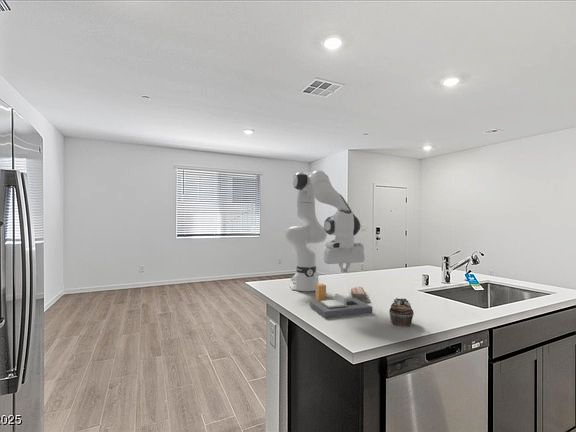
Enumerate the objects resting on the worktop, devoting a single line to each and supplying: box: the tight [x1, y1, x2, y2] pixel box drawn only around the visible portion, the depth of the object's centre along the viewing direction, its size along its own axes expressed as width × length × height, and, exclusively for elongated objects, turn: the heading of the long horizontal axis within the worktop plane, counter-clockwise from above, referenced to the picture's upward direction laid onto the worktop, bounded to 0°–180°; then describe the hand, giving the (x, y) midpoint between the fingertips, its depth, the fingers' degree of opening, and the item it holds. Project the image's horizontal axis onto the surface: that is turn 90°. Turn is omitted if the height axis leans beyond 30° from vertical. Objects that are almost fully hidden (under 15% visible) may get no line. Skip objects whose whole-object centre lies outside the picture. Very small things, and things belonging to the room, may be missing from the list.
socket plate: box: [310, 297, 373, 319], centre depth 142 cm, size 16×24×3 cm, turn 108°
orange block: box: [315, 283, 327, 301], centre depth 152 cm, size 4×4×10 cm
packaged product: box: [348, 286, 371, 303], centre depth 166 cm, size 18×5×10 cm
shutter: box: [321, 293, 347, 308], centre depth 141 cm, size 9×9×4 cm
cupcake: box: [388, 297, 415, 328], centre depth 125 cm, size 10×10×10 cm
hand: (344, 272), depth 143 cm, fingers closed
